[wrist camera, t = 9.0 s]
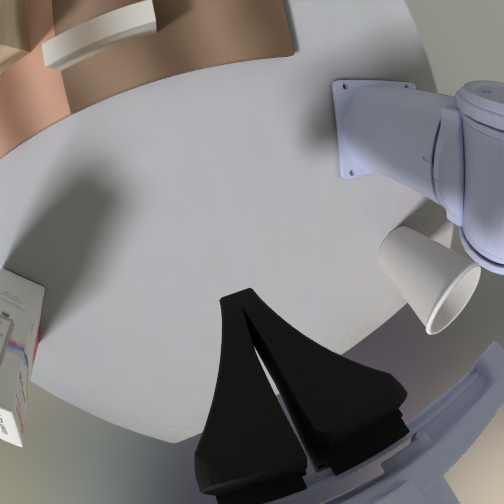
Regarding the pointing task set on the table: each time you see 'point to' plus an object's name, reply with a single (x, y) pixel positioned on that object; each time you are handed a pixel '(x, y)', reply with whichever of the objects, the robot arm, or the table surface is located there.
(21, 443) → the ink cartridge box
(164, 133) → the table surface
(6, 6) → the maple block
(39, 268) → the table surface
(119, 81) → the board
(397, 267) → the dixie cup
